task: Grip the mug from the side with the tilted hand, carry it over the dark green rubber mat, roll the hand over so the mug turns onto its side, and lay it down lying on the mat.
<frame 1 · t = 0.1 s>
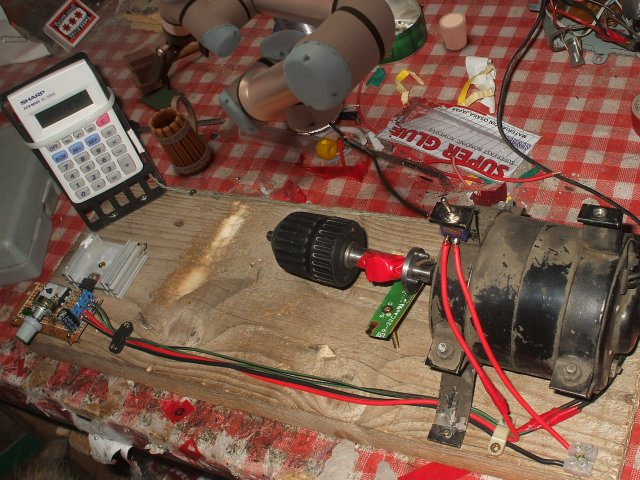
hand: (185, 70, 162), 15 cm above the table, tool tilted 35°, fingers open, 13 cm apart
mug: (198, 154, 167), on the table
mat: (161, 98, 184), on the table
pink cylinder: (456, 44, 166), on the table
hammer: (187, 64, 190), on the table, touching mat
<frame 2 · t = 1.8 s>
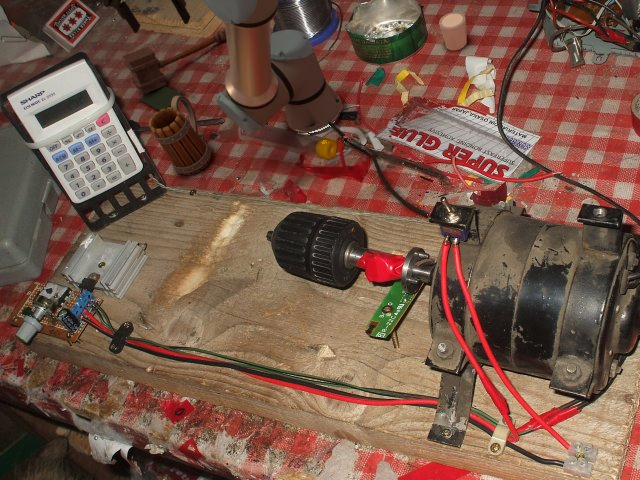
hand: (162, 25, 150), 29 cm above the table, tool pointing down, fingers open, 13 cm apart
nothing on the table moved.
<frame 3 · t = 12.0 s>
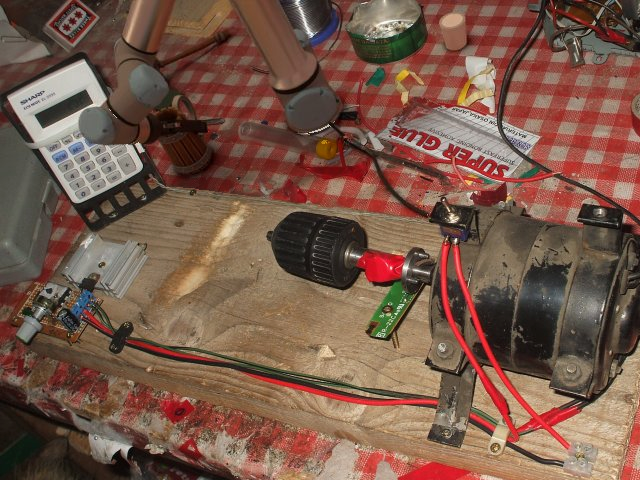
hand: (189, 129, 164), 6 cm above the table, tool tilted 45°, fingers closed on mug, 9 cm apart
mug: (198, 154, 167), on the table, touching gripper
everything else where it was.
when the fingers open (8 cm above the table, at t = 26.6 s): mug drops 4 cm, resting on hammer, mat.
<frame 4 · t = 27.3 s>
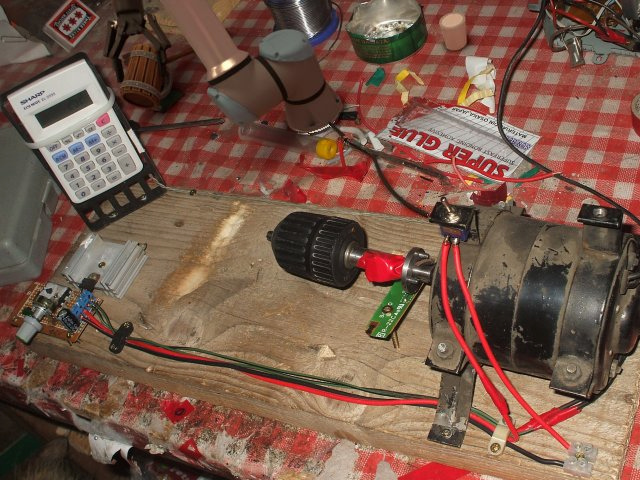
hand: (142, 79, 176), 9 cm above the table, tool tilted 45°, fingers open, 13 cm apart
mug: (144, 106, 176), point 5 cm above the table, touching gripper, hammer, mat
hammer: (187, 64, 190), on the table, touching mat, mug
everything else where it was.
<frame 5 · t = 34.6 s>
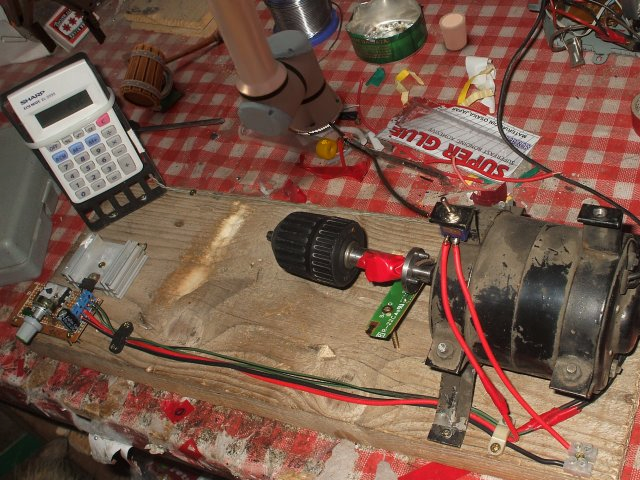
hand: (78, 45, 146), 33 cm above the table, tool pointing down, fingers open, 13 cm apart
mug: (144, 105, 175), point 5 cm above the table, touching hammer, mat
everything else where it was.
at the end: mug tilted 72°; mug inside the target area on the mat (9.0 cm from its centre), point 5.1 cm above the mat's base; the gripper is holding nothing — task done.
